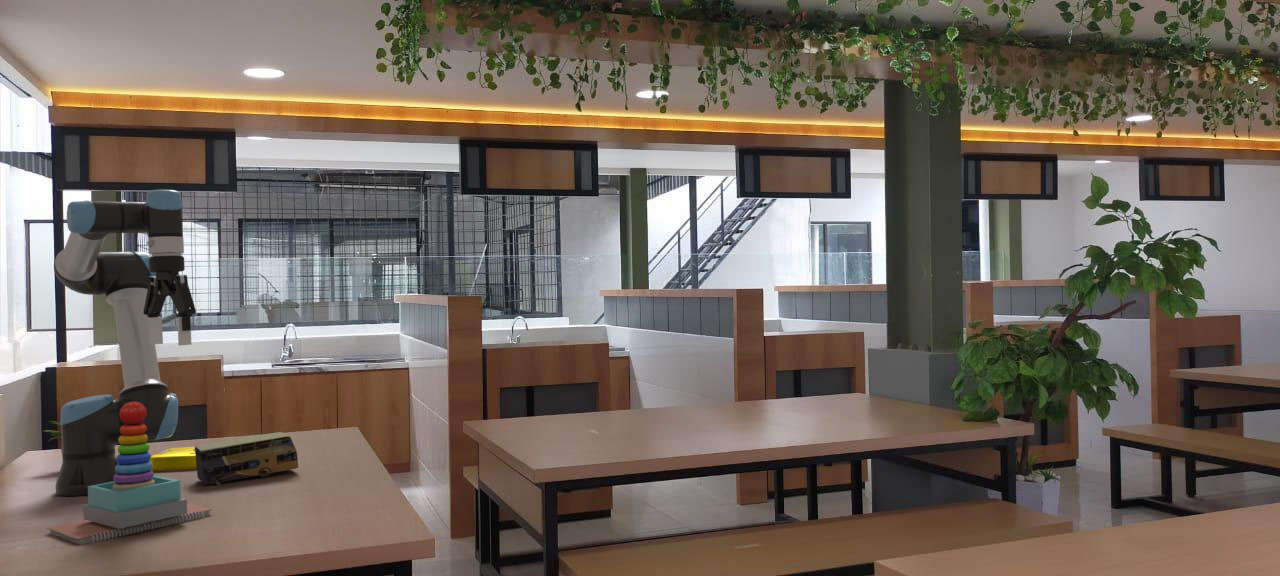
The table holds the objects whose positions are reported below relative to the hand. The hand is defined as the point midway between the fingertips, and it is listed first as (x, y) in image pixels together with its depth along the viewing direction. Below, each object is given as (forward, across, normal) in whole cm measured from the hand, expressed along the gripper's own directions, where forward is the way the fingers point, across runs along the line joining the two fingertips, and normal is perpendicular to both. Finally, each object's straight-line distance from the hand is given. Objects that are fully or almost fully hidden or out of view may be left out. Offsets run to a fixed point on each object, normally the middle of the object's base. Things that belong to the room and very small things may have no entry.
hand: (170, 344), depth 226 cm
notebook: (+37, +16, -18) cm, 44 cm away
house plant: (+37, -69, +6) cm, 78 cm away
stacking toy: (+29, +18, -18) cm, 39 cm away
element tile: (+37, -42, +24) cm, 61 cm away
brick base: (+35, +18, -18) cm, 43 cm away
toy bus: (+37, -8, +23) cm, 44 cm away
